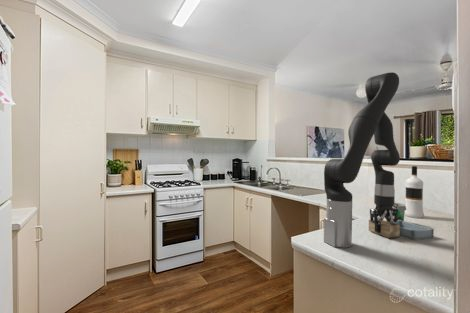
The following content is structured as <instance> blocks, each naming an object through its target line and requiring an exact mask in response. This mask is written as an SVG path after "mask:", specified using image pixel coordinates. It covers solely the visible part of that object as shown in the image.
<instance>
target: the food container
mask: <svg viewBox="0 0 470 313" xmlns="http://www.w3.org/2000/svg"><path fill="white" fill-rule="evenodd" d="M392 208H396V209H398V215H397V221H398V220H403V221H404V222H405V210H406V207H405V204H403V203H398V202H394V206H392ZM393 219H394V216H393Z"/></svg>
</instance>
